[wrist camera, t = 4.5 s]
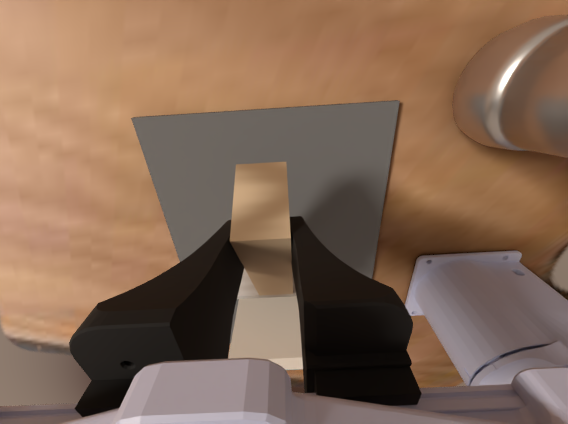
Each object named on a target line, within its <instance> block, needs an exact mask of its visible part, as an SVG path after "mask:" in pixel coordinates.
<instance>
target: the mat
mask: <svg viewBox="0 0 568 424" xmlns="http://www.w3.org/2000/svg"><path fill="white" fill-rule="evenodd" d="M399 102H400V101H398V100H395V101H380V102H364V103H348V104H333V105H317V106H302V107H286V108H271V109H255V110H240V111H224V112H208V113H193V114H177V115H162V116H146V117H134V118H131V119H132V122H133V125H134V128H135V130H136V133H137V136H138V139H139V142H140V145H141V148H142V151H143V154H144V157H145V160H146V163H147V166H148V169H149V172H150V175H151V178H152V181H153V184H154V187H155V189H156V192H157V195H158V198H159V201H160V204H161V207H162V210H163V213H164V216H165V219H166V222H167V225H168V228H169V231H170V234H171V237H172V240H173V243H174V246H175V248H176V251H177V254H178V257H179V260H180V262H181V261H183V260H184V259H185V258H187V257H188V256H189V255H191V254H192V253H193V252H195V251H196V250H197V249H198V248H199V247H200V246H202V245H203V244H204V243H205V242H206V241H207V240H208V239H209V238H210V237H211V236H213V235H214V234H215V233H216V232H217V231H218V230H219V229H220V228H221V227H222V226H223V225H224V224H225V223H226V222H227V221H228V220H231V219H232V207H233V195H234V182H235V170H236V164H253V163H270V162H286V165H287V182H288V199H289V216H290V217H294V216H302V217H303V218H304V220H305V222H306V224H307V225H308V227H309V228H310V230H311V231H312V232H313V233H314V235H315V236H316V237H317V238H318V239H319V241H320V242H321V243H322V244H323V245H324V246H325V247H326V248H327V249H328V250H329V251H330V252H331V253H332V254H334V255H335V256H336V257H337V258H338V259H340V260H341V261H342V262H344V263H345V264H347V265H348V266H350V267H351V268H353V269H355V270H356V271H358V272H360V273H361V274H363V275H365V276H367V277H369V278H371V279H372V276H373V269H374V263H375V256H376V250H377V243H378V237H379V231H380V224H381V218H382V211H383V205H384V198H385V192H386V186H387V179H388V173H389V166H390V160H391V153H392V147H393V141H394V134H395V128H396V121H397V115H398V108H399ZM238 301H239V299H237V301H236V305H235V309H234V314H233V321H232V329H231V336H230V343H231V340H232V335H233V329H234V324H235V318H236V312H237V307H238Z"/></svg>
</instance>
